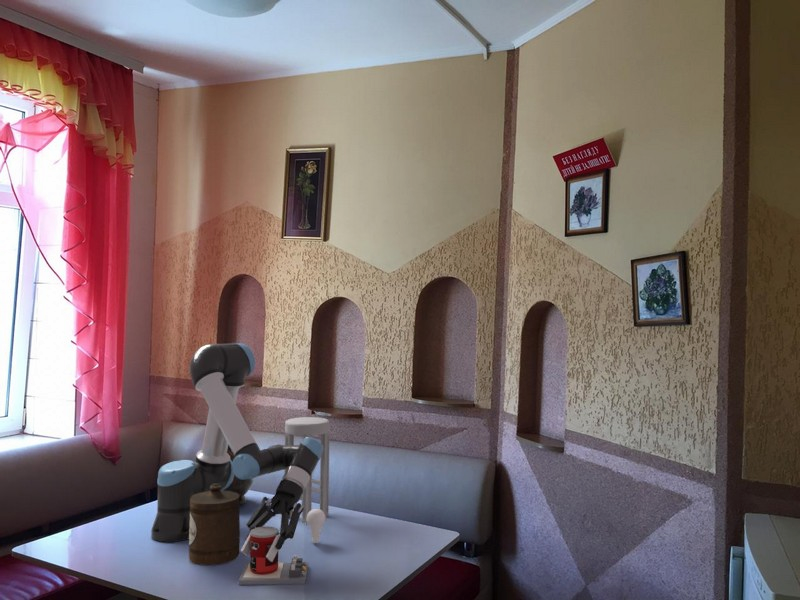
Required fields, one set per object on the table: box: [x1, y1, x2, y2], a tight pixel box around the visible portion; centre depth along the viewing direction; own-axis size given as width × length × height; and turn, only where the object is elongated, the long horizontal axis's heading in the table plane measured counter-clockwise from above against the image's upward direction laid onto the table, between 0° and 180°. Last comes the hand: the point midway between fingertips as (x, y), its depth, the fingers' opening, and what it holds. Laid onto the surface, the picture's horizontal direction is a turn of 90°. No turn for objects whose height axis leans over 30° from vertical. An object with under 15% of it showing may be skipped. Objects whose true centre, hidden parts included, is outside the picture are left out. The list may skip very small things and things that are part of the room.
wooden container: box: [188, 483, 241, 566], centre depth 200 cm, size 15×15×22 cm
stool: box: [284, 416, 331, 525], centre depth 238 cm, size 16×16×35 cm
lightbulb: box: [306, 508, 326, 544], centre depth 212 cm, size 6×6×11 cm
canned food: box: [249, 526, 280, 575], centre depth 186 cm, size 8×8×11 cm
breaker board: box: [238, 554, 309, 586], centre depth 186 cm, size 18×12×4 cm, turn 94°
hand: (256, 556), depth 183 cm, fingers open, 8 cm apart
